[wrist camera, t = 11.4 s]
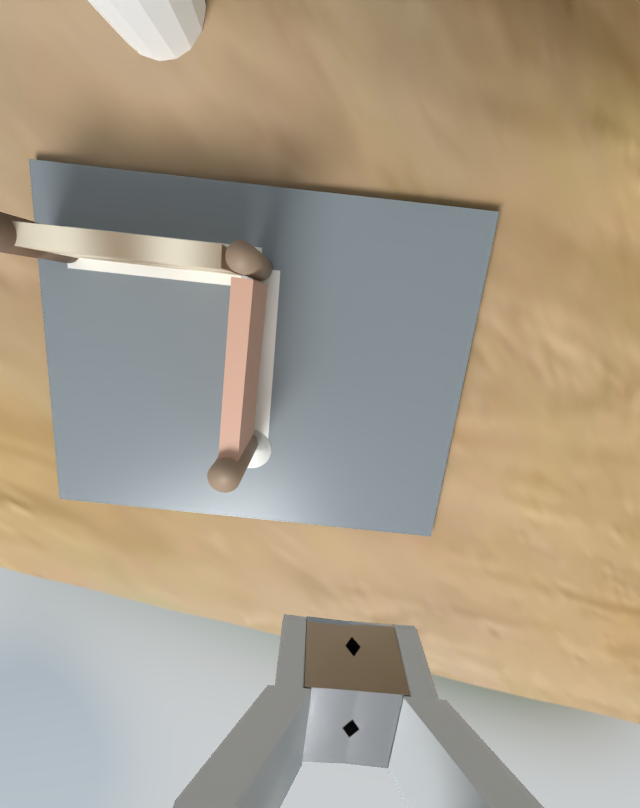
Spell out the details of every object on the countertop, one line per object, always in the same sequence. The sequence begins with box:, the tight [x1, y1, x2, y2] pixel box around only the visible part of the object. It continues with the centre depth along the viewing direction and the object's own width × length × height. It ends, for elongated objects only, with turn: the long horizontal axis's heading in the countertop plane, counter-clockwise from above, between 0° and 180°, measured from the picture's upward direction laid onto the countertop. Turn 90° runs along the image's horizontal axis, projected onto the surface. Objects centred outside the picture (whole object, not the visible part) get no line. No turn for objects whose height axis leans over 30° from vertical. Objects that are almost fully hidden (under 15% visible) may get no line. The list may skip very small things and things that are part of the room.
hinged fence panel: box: [207, 240, 272, 493], centre depth 23 cm, size 14×2×6 cm, turn 172°
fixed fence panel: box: [0, 212, 243, 276], centre depth 21 cm, size 13×2×6 cm, turn 84°
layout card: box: [29, 159, 499, 536], centre depth 26 cm, size 30×24×1 cm
